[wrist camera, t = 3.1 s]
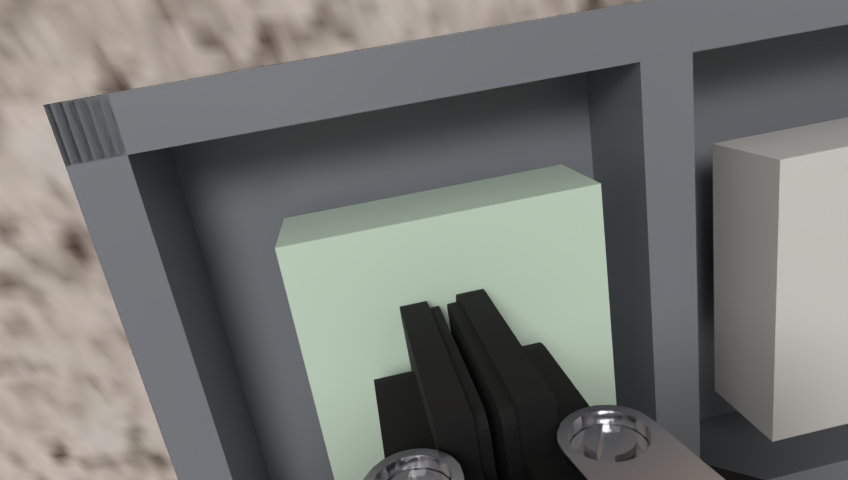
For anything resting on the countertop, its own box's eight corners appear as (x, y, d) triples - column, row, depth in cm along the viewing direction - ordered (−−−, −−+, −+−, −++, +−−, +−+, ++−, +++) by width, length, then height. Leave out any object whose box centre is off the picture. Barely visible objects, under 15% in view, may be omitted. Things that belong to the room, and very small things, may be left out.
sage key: (561, 164, 13) (601, 183, 11) (583, 401, 15) (620, 452, 13) (284, 218, 12) (275, 248, 11) (343, 456, 14) (344, 518, 12)
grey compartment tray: (1252, -105, 16) (1575, -160, 12) (1154, 294, 20) (1373, 359, 16) (133, 88, 14) (43, 105, 10) (261, 503, 18) (238, 647, 13)
